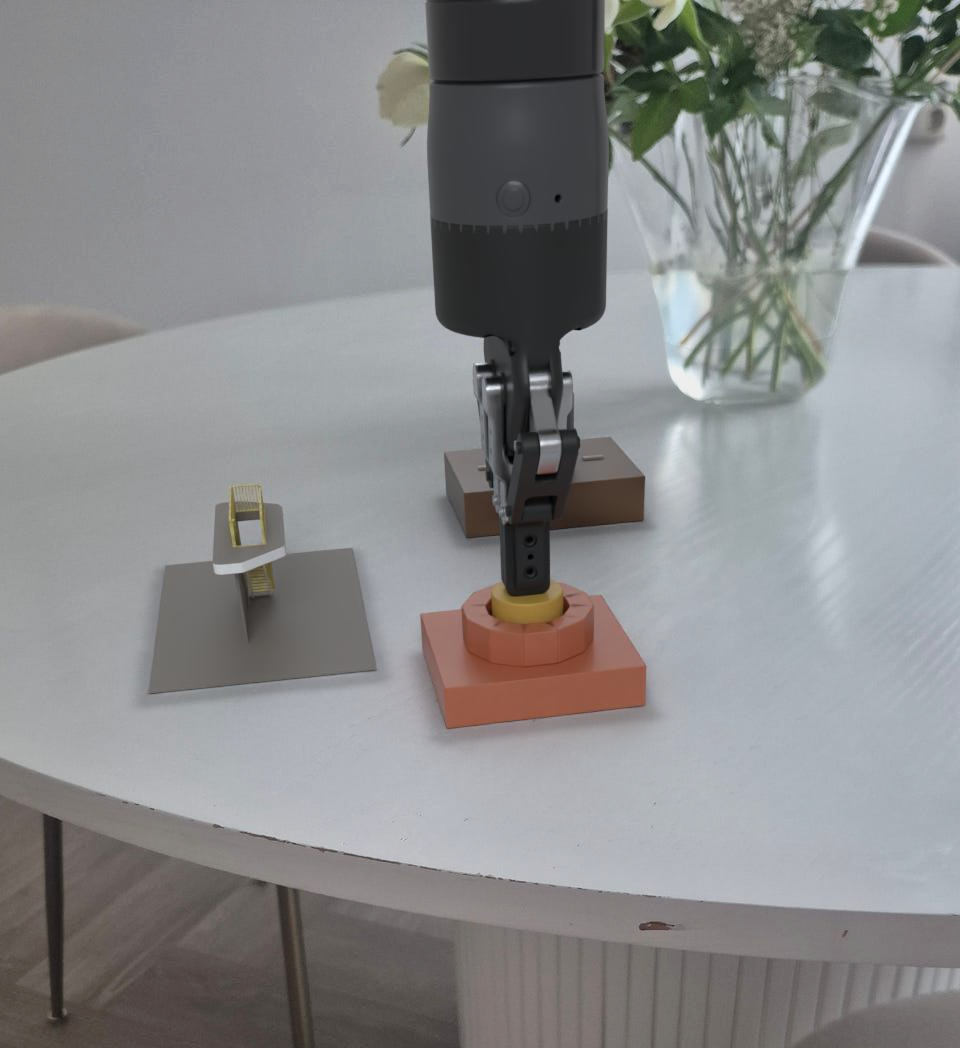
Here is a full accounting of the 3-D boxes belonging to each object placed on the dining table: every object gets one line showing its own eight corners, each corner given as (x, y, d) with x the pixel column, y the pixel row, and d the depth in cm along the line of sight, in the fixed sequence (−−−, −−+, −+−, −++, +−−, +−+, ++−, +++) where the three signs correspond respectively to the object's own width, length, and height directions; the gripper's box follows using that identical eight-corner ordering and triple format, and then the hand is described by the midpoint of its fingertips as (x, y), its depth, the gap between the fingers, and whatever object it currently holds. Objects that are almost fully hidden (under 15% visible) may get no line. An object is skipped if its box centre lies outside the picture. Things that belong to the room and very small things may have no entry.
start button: (554, 604, 66) (554, 572, 65) (570, 633, 63) (570, 600, 62) (486, 611, 65) (485, 579, 64) (499, 640, 62) (498, 607, 61)
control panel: (609, 478, 91) (610, 434, 89) (643, 520, 84) (645, 473, 82) (446, 493, 90) (443, 449, 88) (466, 538, 82) (463, 490, 81)
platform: (352, 547, 82) (341, 446, 78) (376, 669, 67) (365, 551, 63) (165, 565, 80) (145, 463, 77) (148, 693, 66) (123, 574, 62)
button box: (600, 631, 70) (602, 562, 68) (645, 705, 63) (648, 631, 60) (422, 650, 69) (417, 581, 66) (446, 728, 61) (442, 654, 59)
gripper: (648, 220, 48) (633, 636, 58) (569, 178, 59) (568, 535, 69) (454, 233, 47) (473, 654, 57) (410, 188, 58) (433, 549, 68)
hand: (525, 589), depth 63 cm, fingers closed
